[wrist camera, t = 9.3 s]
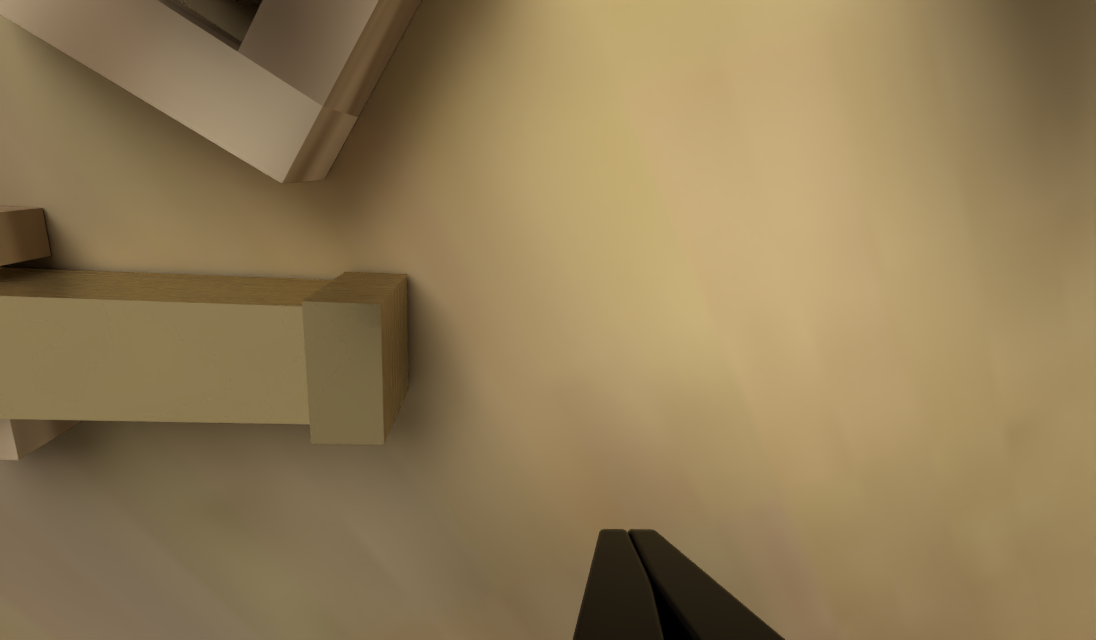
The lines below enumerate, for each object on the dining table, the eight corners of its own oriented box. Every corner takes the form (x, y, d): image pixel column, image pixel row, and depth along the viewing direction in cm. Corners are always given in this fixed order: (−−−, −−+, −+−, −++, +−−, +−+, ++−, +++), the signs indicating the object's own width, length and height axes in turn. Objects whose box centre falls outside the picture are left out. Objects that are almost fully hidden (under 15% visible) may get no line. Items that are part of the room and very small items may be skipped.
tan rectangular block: (407, 274, 19) (380, 304, 15) (408, 388, 20) (384, 445, 16) (-16, 257, 18) (-166, 284, 14) (11, 379, 19) (-122, 437, 15)
